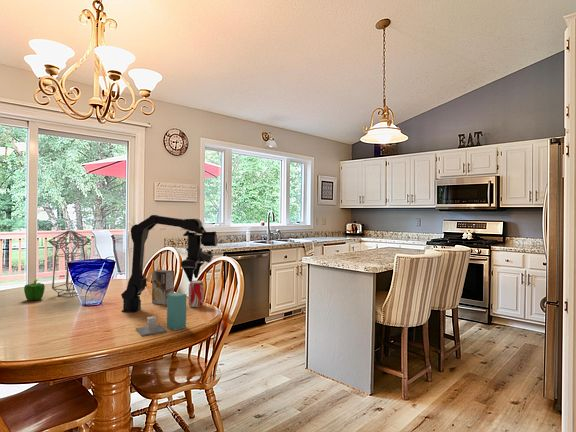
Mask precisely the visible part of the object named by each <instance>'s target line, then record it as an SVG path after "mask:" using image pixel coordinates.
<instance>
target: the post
mask: <svg viewBox="0 0 576 432" xmlns="http://www.w3.org/2000/svg"><path fill="white" fill-rule="evenodd" d="M156 325H157V317H156V316H155V315H153V316H152V315H151V316H146V326H147V330H148V331H150V330H156Z"/></svg>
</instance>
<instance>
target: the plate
mask: <svg viewBox="0 0 576 432" xmlns="http://www.w3.org/2000/svg"><path fill="white" fill-rule="evenodd" d="M135 330H136V332H137V333H138V334H139V335H140V336H141V337H145V336H146V337H147V336H151V335H157V334H164V333H167V332H168V331H167V329H166V328H165V327H164V326H163V325H162V324H160V323H159V324H156V330H150V331H148V330H147V325H146V326H141V327H136V328H135Z"/></svg>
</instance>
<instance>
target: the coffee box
mask: <svg viewBox="0 0 576 432" xmlns="http://www.w3.org/2000/svg"><path fill="white" fill-rule="evenodd" d="M151 275H152V277H151V280H152V281H151V304H155V305H156V304H157V305H164V306H165V305H166V306H167V294H173V293H175V271H174V270H167V269H156V270H152V273H151Z"/></svg>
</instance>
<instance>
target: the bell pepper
mask: <svg viewBox="0 0 576 432" xmlns="http://www.w3.org/2000/svg"><path fill="white" fill-rule="evenodd" d="M23 291H24V296H25V299H26V300H27V301H30V302H31V301H39V300H41V299H42V298H43V296H44V293H45V284H44V283H41V282H38V279H37V278H35V279H34V281H33V283H28V284H25V285H24V287H23Z"/></svg>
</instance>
